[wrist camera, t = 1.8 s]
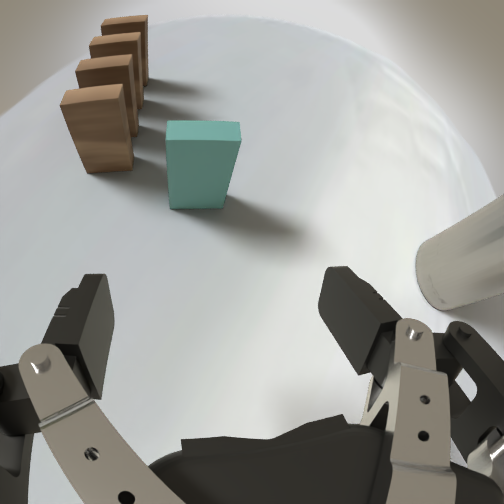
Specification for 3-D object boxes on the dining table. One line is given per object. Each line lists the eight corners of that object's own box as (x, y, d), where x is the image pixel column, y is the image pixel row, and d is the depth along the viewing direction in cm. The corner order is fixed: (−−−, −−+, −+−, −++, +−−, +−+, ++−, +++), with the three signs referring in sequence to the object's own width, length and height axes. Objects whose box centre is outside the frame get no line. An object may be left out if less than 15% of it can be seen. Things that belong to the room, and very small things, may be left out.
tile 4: (105, 102, 30) (93, 37, 20) (143, 99, 31) (140, 32, 22) (102, 111, 29) (88, 45, 20) (141, 109, 30) (137, 40, 21)
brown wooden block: (112, 80, 31) (105, 19, 22) (148, 77, 32) (147, 14, 23) (109, 88, 31) (100, 25, 21) (146, 85, 32) (144, 21, 22)
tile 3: (97, 128, 28) (80, 60, 19) (139, 125, 29) (132, 54, 20) (94, 139, 28) (75, 71, 19) (137, 137, 29) (128, 64, 20)
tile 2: (90, 159, 27) (66, 90, 18) (134, 156, 28) (122, 83, 19) (87, 173, 26) (59, 105, 17) (132, 170, 28) (118, 98, 18)
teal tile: (170, 192, 28) (167, 120, 18) (221, 192, 29) (239, 122, 19) (169, 209, 27) (165, 139, 18) (222, 208, 28) (241, 141, 19)
